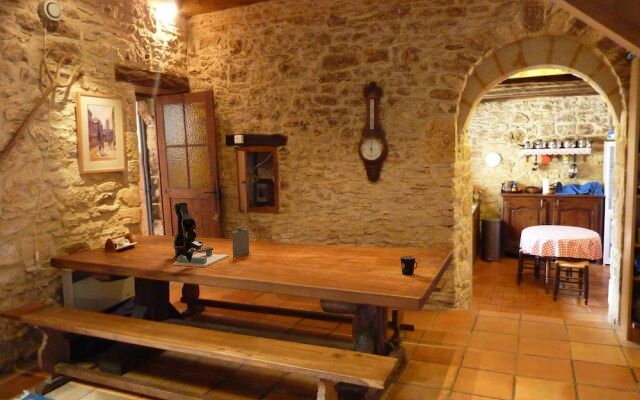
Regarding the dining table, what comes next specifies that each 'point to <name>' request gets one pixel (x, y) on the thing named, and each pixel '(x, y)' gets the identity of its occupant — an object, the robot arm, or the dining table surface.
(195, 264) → the cream base plate
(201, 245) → the robot arm
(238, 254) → the hip flask
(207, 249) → the iron keeper
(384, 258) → the dining table surface
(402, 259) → the coffee mug
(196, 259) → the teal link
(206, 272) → the dining table surface
